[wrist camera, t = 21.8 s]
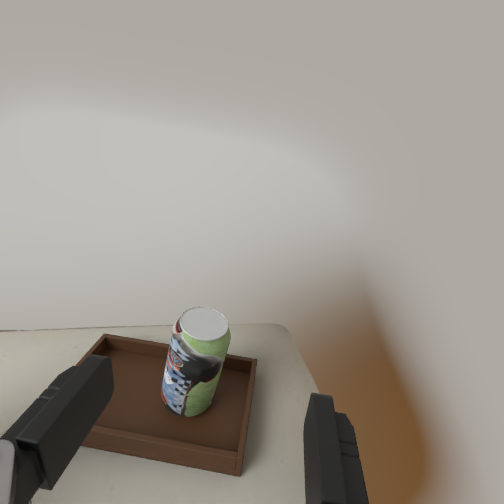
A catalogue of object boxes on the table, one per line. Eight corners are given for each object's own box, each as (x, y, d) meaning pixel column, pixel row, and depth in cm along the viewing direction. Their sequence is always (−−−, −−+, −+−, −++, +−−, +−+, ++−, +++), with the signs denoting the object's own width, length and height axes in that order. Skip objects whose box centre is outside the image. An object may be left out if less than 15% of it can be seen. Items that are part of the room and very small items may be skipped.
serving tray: (255, 373, 41) (257, 359, 40) (240, 477, 29) (242, 459, 28) (105, 348, 43) (104, 333, 42) (32, 436, 31) (27, 418, 30)
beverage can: (173, 375, 39) (173, 294, 34) (229, 386, 38) (237, 305, 33) (150, 418, 33) (147, 328, 28) (216, 432, 32) (224, 343, 28)
